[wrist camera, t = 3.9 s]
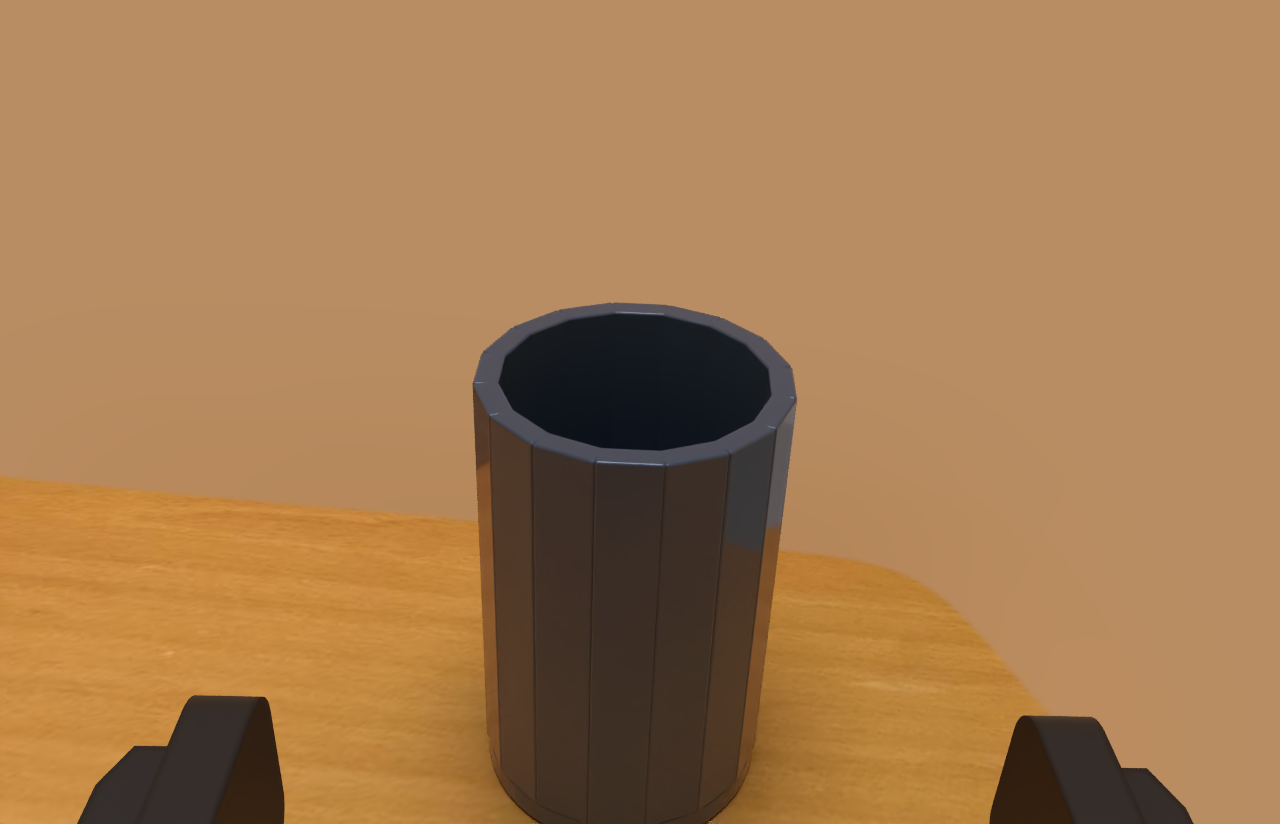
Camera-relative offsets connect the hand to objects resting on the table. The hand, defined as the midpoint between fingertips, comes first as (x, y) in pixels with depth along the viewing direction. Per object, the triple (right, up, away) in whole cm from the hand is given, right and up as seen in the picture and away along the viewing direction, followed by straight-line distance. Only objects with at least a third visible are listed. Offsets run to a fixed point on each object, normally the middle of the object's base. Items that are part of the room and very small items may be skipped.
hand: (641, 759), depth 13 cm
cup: (0, -4, +16) cm, 16 cm away
